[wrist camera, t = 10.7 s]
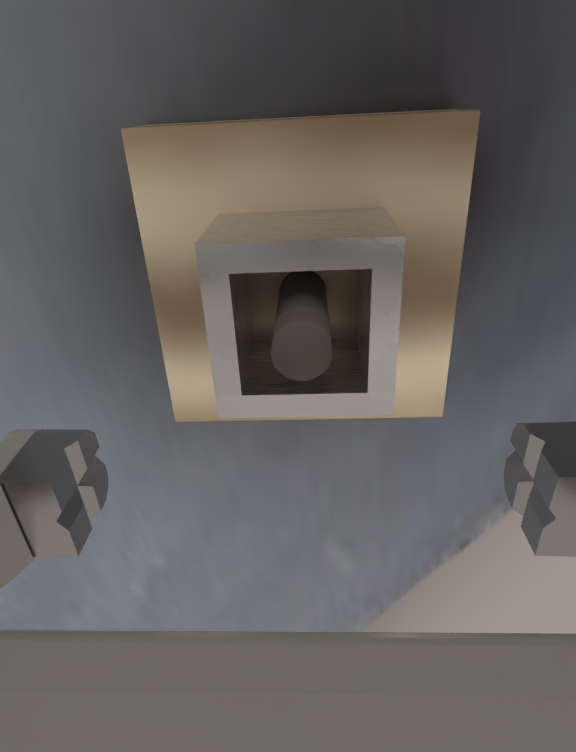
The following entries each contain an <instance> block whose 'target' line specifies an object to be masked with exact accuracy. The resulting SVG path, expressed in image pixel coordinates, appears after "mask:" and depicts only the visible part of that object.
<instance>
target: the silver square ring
mask: <svg viewBox="0 0 576 752" xmlns="http://www.w3.org/2000/svg"><path fill="white" fill-rule="evenodd" d="M405 238H406V236H405V235H404V233H403V232H402V231H401V229H400V228H399V227H398V225H397V224H396V223H395V221H394V220H393V218H392V217H391V216H390V214H389V213H388V212H387V210H386V209H385V208H384V207H376V208H352V209H327V210H303V211H279V212H254V213H230V214H218V215H217V216H216V218H215V219H214V220H213V221H212V223H211V224H210V225H209V226H208V228H207V229H206V230H205V232H204V233H203V234H202V235H201V237H200V238H199V239H198V240H197V242H196V243H195V244H194V245H195V252H196V259H197V267H198V274H199V281H200V289H201V296H202V303H203V311H204V318H205V325H206V333H207V340H208V347H209V355H210V362H211V369H212V377H213V384H214V391H215V399H216V406H217V413H218V418H268V417H318V416H369V415H394V400H395V385H396V370H397V356H398V341H399V326H400V311H401V297H402V282H403V267H404V252H405ZM351 269H358V274H357V319H356V338H331V345H332V359H331V362H330V365H329V367H328V368H327V369H326V371H325V372H324V373H322V374H321V375H320V376H318V377H316V378H314V379H311V380H306V381H298V380H293V379H290V378H287V377H285V376H284V375H282V374H281V373H280V372H279V371H278V370H277V369H276V367H275V366H274V364H273V361H272V357H271V349H272V342H273V340H254V336H253V324H252V312H251V301H250V289H249V278H248V273H265V272H293V271H322V270H351Z"/></svg>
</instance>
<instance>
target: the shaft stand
mask: <svg viewBox="0 0 576 752" xmlns="http://www.w3.org/2000/svg"><path fill="white" fill-rule="evenodd" d="M480 111H481V110H470V109H444V110H424V111H405V112H385V113H365V114H346V115H326V116H306V117H287V118H267V119H247V120H228V121H208V122H188V123H169V124H149V125H140V126H133V127H126V128H121V133H122V139H123V144H124V149H125V155H126V160H127V165H128V171H129V176H130V181H131V187H132V192H133V197H134V203H135V208H136V214H137V219H138V224H139V230H140V235H141V240H142V246H143V251H144V256H145V262H146V267H147V272H148V278H149V283H150V288H151V294H152V299H153V305H154V310H155V315H156V321H157V326H158V331H159V337H160V342H161V347H162V353H163V358H164V363H165V369H166V374H167V379H168V385H169V390H170V395H171V401H172V406H173V412H174V417H175V422H196V421H247V420H298V419H349V418H400V417H442V416H443V408H444V400H445V392H446V384H447V376H448V368H449V360H450V352H451V344H452V336H453V328H454V320H455V312H456V304H457V296H458V288H459V280H460V272H461V264H462V256H463V248H464V240H465V232H466V224H467V216H468V208H469V200H470V192H471V184H472V175H473V167H474V159H475V151H476V143H477V135H478V127H479V119H480ZM376 207H384V208H385V209H386V210H387V212H388V213H389V214H390V216H391V217H392V218H393V220H394V221H395V223H396V224H397V225H398V227H399V228H400V229H401V231H402V232H403V233H404V235H405V236H406V238H405V252H404V267H403V282H402V297H401V311H400V326H399V341H398V356H397V370H396V385H395V400H394V415H369V416H318V417H268V418H218V413H217V406H216V399H215V391H214V384H213V377H212V369H211V362H210V355H209V347H208V340H207V333H206V325H205V318H204V311H203V303H202V296H201V289H200V281H199V274H198V267H197V259H196V252H195V245H194V244H195V243H196V242H197V240H198V239H199V238H200V237H201V235H202V234H203V233H204V232H205V230H206V229H207V228H208V226H209V225H210V224H211V223H212V221H213V220H214V219H215V218H216V216H217V215H218V214H230V213H254V212H279V211H303V210H327V209H352V208H376ZM357 274H358V269H351V270H322V271H293V272H265V273H248V278H249V289H250V301H251V312H252V324H253V336H254V340H273V342H272V349H271V357H272V361H273V364H274V366H275V367H276V369H277V370H278V371H279V372H280V373H281V374H282V375H284V376H285V377H287V378H290V379H293V380H298V381H306V380H311V379H314V378H316V377H318V376H320V375H321V374H322V373H324V372H325V371H326V369H327V368H328V367H329V365H330V362H331V359H332V345H331V338H356V319H357Z"/></svg>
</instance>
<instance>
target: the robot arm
mask: <svg viewBox="0 0 576 752" xmlns="http://www.w3.org/2000/svg"><path fill="white" fill-rule="evenodd" d="M511 442H512V444H513V446H514V448H515V450H516V451H515V452H514V453H513V454H512V455H511V456H509V457H508V458H507V459H506V464H505V470H504V485H505V491H506V494H507V498H508V500H509V502H510V505H511V507H512V508H513V509H514V510H516V511H517V512H518V513H520V514H521V515H523V516H524V517H523V520H522V525H521V527H522V529H523V532H524V534H525V536H526V537H527V540H528V541H529V544H530V546H531V548H532V550H533V552H534V554H535V555H540V556H541V555H543V556H576V421H572V422H545V423H517V424H516V426H515V428H514V429H513V433H512V437H511ZM98 448H99V444H98V441H97V438H96V435H95V433H94V432H92V431H90V430H65V429H41V430H38V429H32V430H15V431H12V432H9V434H8V435H7V436H6V437H5V438H4V439H3V440H2V442H1V443H0V589H1V588H2V587H3V586H5V585H6V584H7V583H8V582H9V581H10V580H12V579H13V578H14V577H15V576H16V575H17V574H18V573H20V572H21V571H22V570H23V569H24V568H25V567H27V566H28V565H29V564H30V563H31V562H32V561H33V560H34V558H42V557H74V556H79V554H80V552H81V550H82V548H83V546H84V544H85V542H86V540H87V538H88V536H89V534H90V532H91V530H92V527H91V524H90V521H89V519H91V518H92V517H93V516H95V515H96V514H97V513H99V512H100V511H101V509H102V507H103V505H104V503H105V501H106V497H107V491H108V474H107V470H106V467H105V464H104V463H103V462H101V461H100V460H99V459H98V458H97V457H96V456H95V454H96V452H97V450H98ZM0 752H576V634H542V633H393V632H388V633H387V632H230V631H65V630H0Z"/></svg>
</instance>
